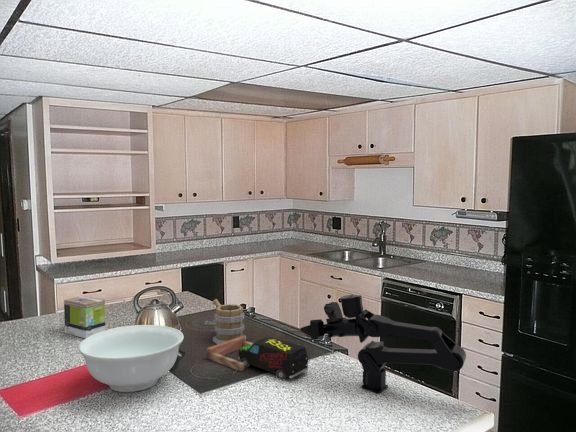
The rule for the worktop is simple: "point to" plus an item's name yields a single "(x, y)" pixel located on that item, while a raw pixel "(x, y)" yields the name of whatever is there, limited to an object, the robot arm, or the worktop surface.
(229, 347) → the wooden corner rails
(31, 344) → the worktop surface
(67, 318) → the tea box
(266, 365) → the toy van
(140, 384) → the bowl
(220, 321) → the tankard
